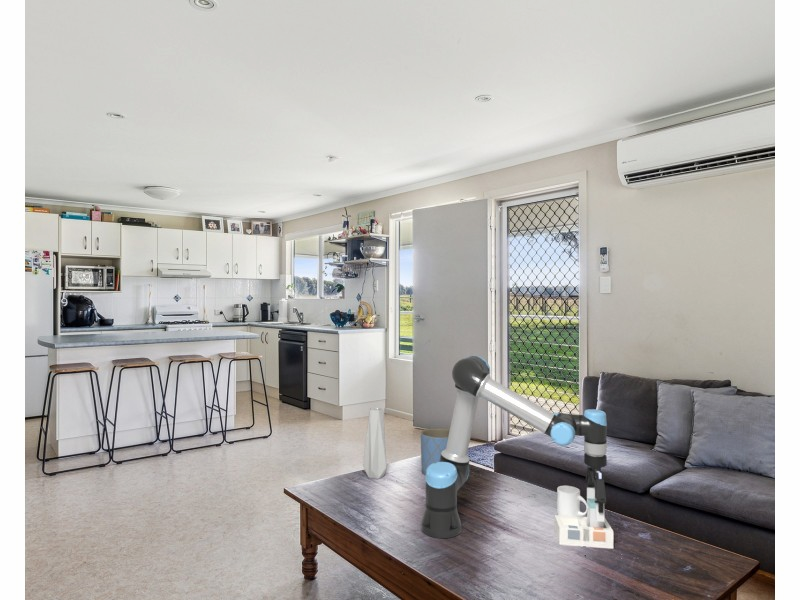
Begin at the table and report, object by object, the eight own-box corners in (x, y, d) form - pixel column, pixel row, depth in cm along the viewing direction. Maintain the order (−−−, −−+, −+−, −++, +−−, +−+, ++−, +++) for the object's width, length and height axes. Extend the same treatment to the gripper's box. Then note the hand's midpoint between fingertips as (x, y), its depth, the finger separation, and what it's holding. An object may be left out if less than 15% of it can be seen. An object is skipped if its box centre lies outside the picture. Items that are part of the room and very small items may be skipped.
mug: (582, 525, 192) (582, 497, 192) (553, 516, 200) (553, 489, 200) (591, 518, 198) (591, 491, 198) (563, 510, 206) (563, 483, 206)
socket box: (559, 545, 176) (559, 527, 176) (554, 530, 187) (554, 514, 187) (613, 549, 173) (613, 531, 173) (605, 534, 184) (605, 517, 184)
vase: (379, 482, 237) (379, 412, 237) (359, 477, 243) (360, 409, 244) (393, 475, 247) (393, 408, 247) (374, 471, 253) (374, 405, 254)
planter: (418, 477, 244) (418, 436, 244) (422, 465, 262) (423, 427, 263) (457, 480, 241) (457, 438, 241) (459, 467, 259) (459, 429, 260)
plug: (590, 537, 178) (590, 503, 178) (587, 531, 182) (587, 498, 182) (603, 538, 177) (603, 504, 177) (600, 532, 181) (600, 499, 182)
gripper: (616, 465, 167) (616, 529, 167) (597, 444, 192) (597, 500, 191) (592, 463, 168) (592, 527, 168) (577, 443, 193) (577, 499, 192)
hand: (595, 513), depth 180 cm, fingers open, 13 cm apart
